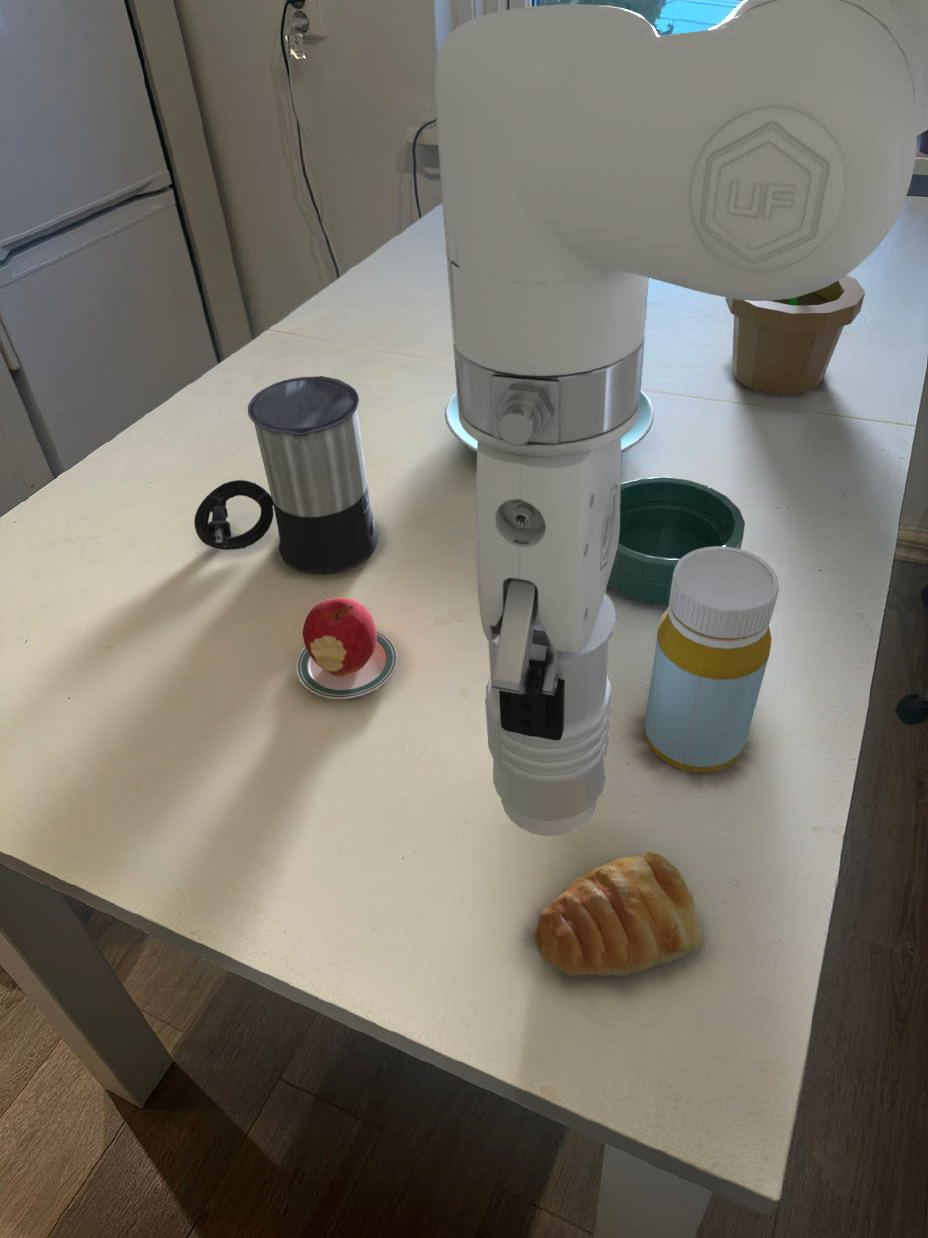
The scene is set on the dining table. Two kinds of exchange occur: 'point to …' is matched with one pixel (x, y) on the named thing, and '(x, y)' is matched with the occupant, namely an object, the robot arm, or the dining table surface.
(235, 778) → the dining table surface
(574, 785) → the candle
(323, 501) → the milk frother
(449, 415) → the plate
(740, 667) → the bottle
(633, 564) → the bowl
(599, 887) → the pastry
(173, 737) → the dining table surface
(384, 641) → the apple
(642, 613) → the dining table surface
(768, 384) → the flowerpot
